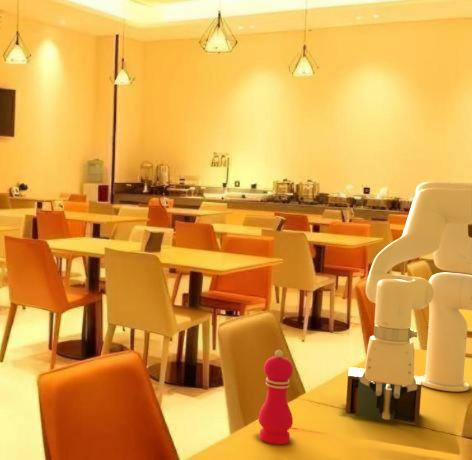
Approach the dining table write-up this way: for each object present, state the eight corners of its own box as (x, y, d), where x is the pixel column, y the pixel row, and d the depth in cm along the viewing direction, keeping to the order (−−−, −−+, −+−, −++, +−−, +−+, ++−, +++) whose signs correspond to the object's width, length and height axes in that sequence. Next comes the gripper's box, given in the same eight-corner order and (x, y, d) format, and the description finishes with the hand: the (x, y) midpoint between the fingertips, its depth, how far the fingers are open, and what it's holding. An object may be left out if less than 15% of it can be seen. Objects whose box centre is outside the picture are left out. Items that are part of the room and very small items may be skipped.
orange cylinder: (353, 407, 187) (354, 383, 187) (370, 409, 186) (372, 386, 185) (352, 412, 184) (354, 387, 183) (370, 414, 182) (371, 390, 182)
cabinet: (347, 406, 191) (349, 367, 190) (417, 416, 184) (420, 376, 183) (345, 415, 184) (347, 375, 183) (418, 426, 177) (421, 384, 176)
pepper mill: (293, 447, 162) (298, 355, 160) (258, 443, 164) (263, 352, 162) (289, 435, 169) (294, 347, 167) (256, 432, 171) (261, 344, 169)
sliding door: (356, 416, 182) (358, 377, 181) (393, 421, 179) (396, 382, 178) (354, 424, 176) (357, 384, 175) (393, 430, 173) (396, 389, 172)
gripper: (429, 334, 172) (424, 413, 174) (355, 326, 179) (350, 402, 180) (430, 341, 165) (424, 423, 167) (353, 332, 172) (348, 411, 174)
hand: (386, 412), depth 174 cm, fingers closed on sliding door
